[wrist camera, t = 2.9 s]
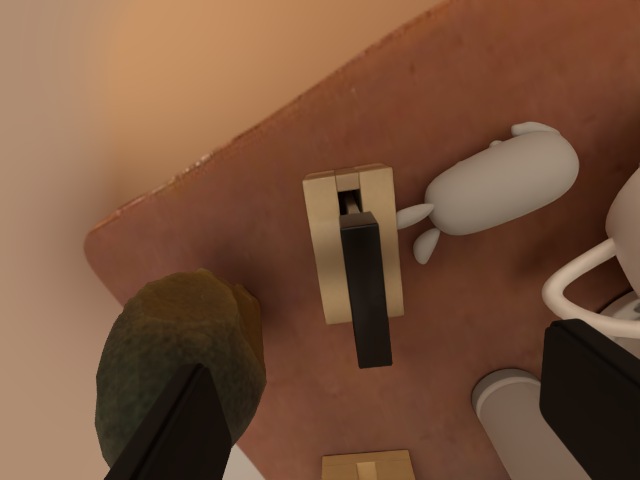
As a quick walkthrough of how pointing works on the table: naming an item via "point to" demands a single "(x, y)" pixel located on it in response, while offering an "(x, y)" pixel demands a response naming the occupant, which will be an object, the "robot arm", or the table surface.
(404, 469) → the u-shaped wooden stand
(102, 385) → the decorative stone
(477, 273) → the table surface
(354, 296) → the knife
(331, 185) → the knife block
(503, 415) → the travel mug
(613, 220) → the teapot
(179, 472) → the robot arm
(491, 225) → the rabbit figurine
